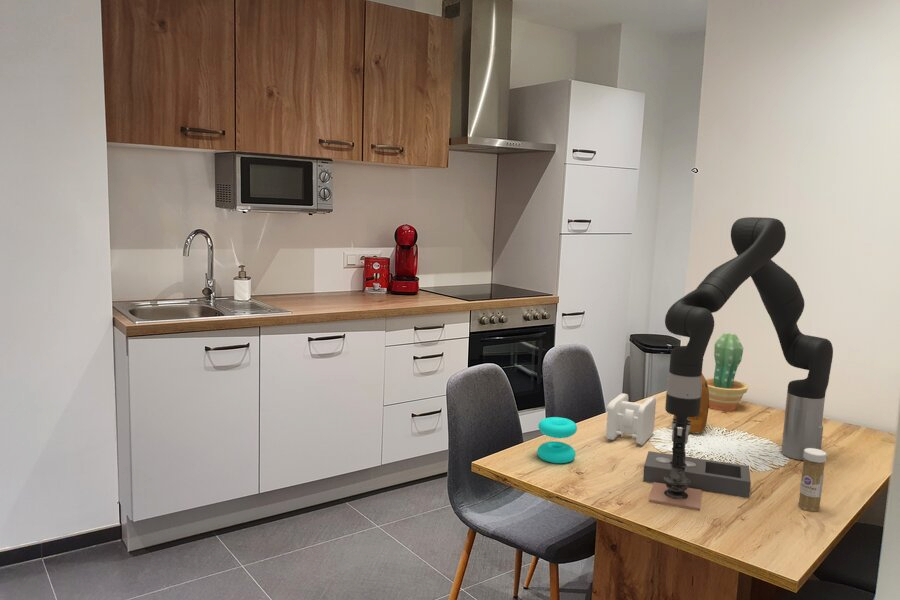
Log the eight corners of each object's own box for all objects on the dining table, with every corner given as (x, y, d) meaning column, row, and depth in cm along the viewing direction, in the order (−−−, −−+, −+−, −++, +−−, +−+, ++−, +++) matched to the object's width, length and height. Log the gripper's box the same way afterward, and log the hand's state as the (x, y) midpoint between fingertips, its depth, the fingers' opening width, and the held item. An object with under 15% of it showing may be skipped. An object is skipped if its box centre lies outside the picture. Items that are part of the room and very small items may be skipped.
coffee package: (711, 426, 219) (717, 356, 216) (702, 437, 208) (708, 364, 205) (678, 420, 224) (684, 352, 221) (668, 431, 213) (673, 359, 210)
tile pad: (701, 492, 169) (701, 489, 169) (699, 510, 158) (700, 508, 158) (653, 484, 172) (653, 482, 172) (648, 501, 162) (648, 499, 162)
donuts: (532, 422, 185) (548, 413, 194) (530, 459, 187) (547, 448, 195) (567, 430, 180) (583, 420, 188) (565, 468, 181) (581, 456, 190)
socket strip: (747, 481, 176) (749, 465, 176) (749, 498, 166) (750, 481, 165) (647, 465, 184) (648, 450, 184) (643, 481, 174) (644, 464, 174)
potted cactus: (754, 407, 241) (760, 334, 238) (735, 416, 230) (742, 340, 226) (709, 397, 252) (715, 328, 248) (690, 406, 240) (696, 333, 237)
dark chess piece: (690, 501, 162) (694, 450, 160) (663, 498, 163) (667, 447, 161) (687, 490, 168) (691, 441, 166) (661, 488, 169) (665, 439, 167)
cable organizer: (640, 449, 197) (643, 408, 195) (603, 442, 202) (606, 402, 200) (654, 434, 210) (657, 396, 208) (619, 428, 215) (621, 390, 213)
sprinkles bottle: (795, 507, 162) (801, 450, 160) (801, 501, 165) (806, 445, 163) (817, 513, 159) (823, 456, 157) (822, 507, 162) (828, 450, 160)
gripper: (700, 403, 154) (694, 476, 156) (702, 387, 167) (696, 455, 170) (664, 398, 157) (658, 470, 159) (668, 383, 170) (663, 450, 172)
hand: (678, 462), depth 164 cm, fingers open, 7 cm apart
